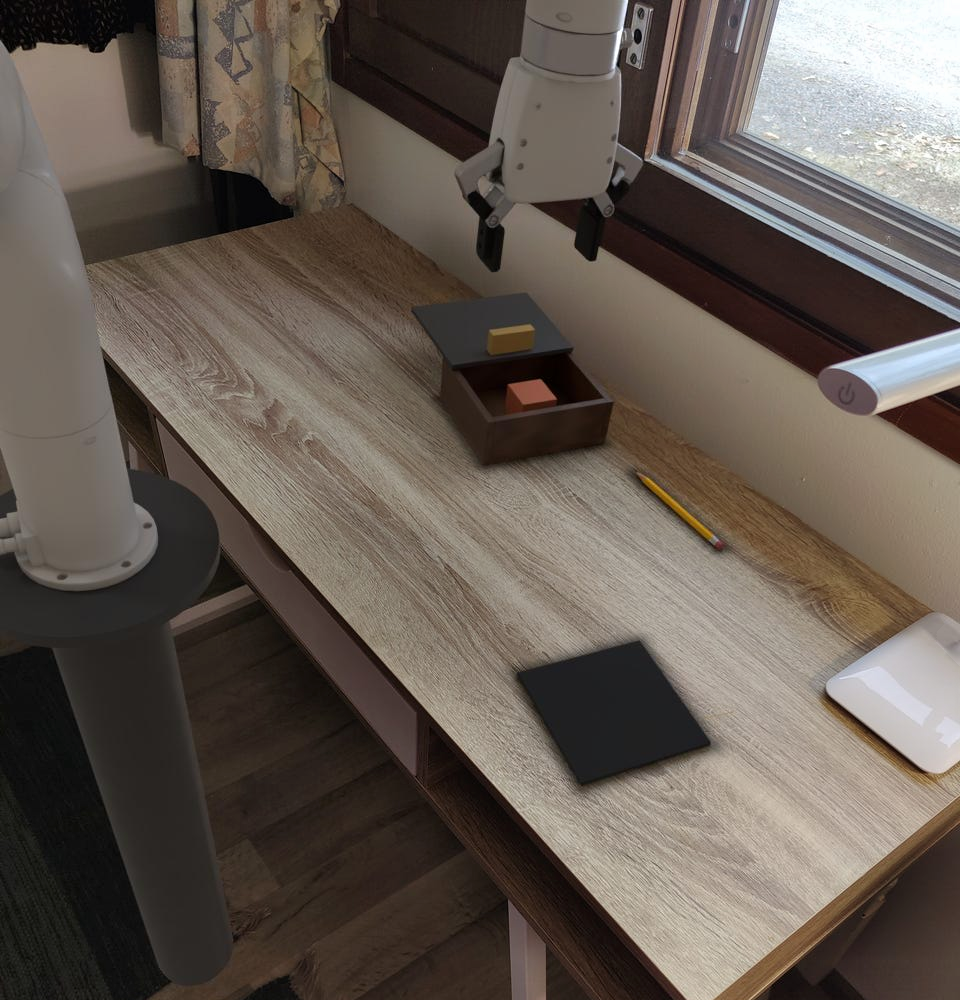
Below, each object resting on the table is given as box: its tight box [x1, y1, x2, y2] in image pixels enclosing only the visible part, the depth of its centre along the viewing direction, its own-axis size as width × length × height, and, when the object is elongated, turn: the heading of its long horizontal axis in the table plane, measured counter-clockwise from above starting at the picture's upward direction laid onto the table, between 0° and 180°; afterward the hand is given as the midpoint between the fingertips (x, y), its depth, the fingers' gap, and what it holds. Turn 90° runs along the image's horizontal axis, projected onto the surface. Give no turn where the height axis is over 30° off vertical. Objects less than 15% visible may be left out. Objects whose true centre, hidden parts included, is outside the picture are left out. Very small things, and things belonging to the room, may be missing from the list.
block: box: [504, 379, 557, 415], centre depth 107 cm, size 4×4×4 cm
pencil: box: [635, 471, 725, 550], centre depth 101 cm, size 1×13×1 cm, turn 33°
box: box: [439, 352, 615, 466], centre depth 108 cm, size 15×13×5 cm
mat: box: [516, 640, 712, 786], centre depth 82 cm, size 12×12×1 cm
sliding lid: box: [410, 292, 574, 370], centre depth 111 cm, size 15×13×3 cm
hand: (537, 259), depth 88 cm, fingers open, 9 cm apart
